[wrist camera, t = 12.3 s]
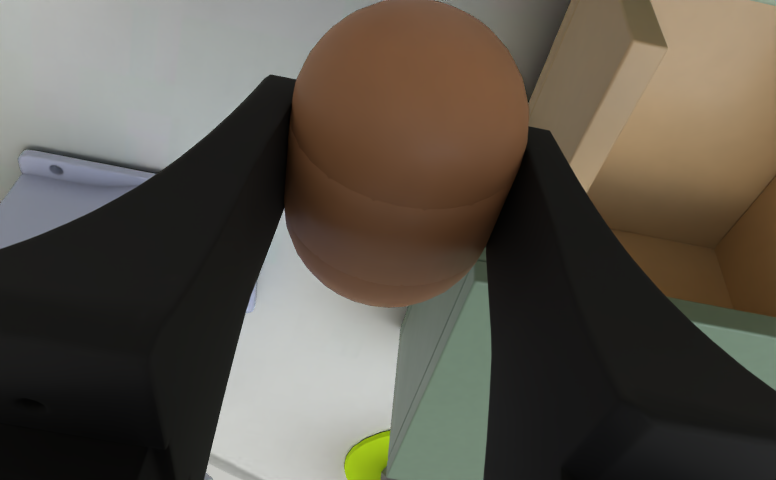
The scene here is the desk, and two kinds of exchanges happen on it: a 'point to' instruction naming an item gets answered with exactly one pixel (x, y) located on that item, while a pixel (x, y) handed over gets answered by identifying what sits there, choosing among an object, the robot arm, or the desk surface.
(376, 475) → the toy cauldron
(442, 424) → the cabinet
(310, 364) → the desk surface
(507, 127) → the egg
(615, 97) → the drawer
